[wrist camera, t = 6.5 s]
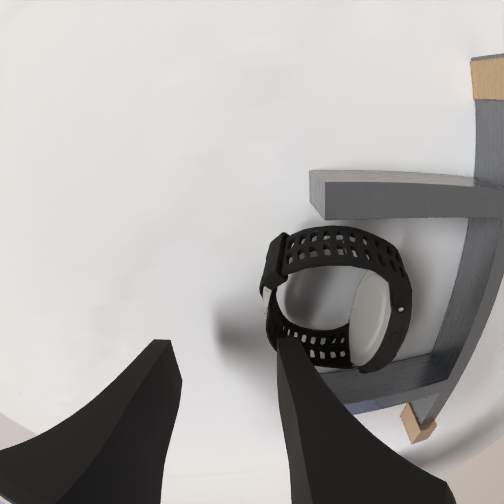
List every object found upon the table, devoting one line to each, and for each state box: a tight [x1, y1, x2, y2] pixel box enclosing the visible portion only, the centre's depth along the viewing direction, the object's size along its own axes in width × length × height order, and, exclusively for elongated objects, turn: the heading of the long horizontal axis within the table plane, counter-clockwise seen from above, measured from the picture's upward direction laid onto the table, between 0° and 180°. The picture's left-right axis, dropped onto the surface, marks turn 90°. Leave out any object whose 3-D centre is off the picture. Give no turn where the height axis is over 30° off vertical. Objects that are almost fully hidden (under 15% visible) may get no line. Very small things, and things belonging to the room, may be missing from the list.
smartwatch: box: [259, 226, 412, 374], centre depth 9 cm, size 4×5×5 cm
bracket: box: [309, 54, 504, 444], centre depth 10 cm, size 20×8×2 cm, turn 3°
